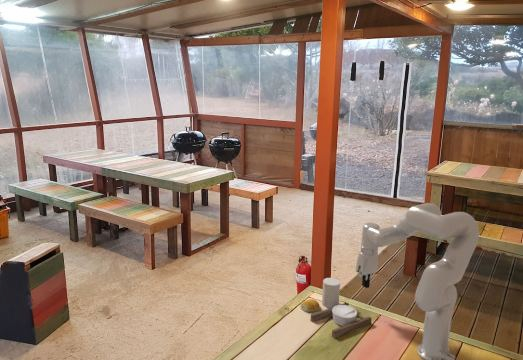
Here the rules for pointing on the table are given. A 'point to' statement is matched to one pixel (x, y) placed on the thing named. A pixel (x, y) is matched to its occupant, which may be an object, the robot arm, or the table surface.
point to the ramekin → (344, 314)
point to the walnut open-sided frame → (342, 329)
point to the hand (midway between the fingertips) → (365, 286)
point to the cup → (330, 292)
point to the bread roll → (310, 305)
